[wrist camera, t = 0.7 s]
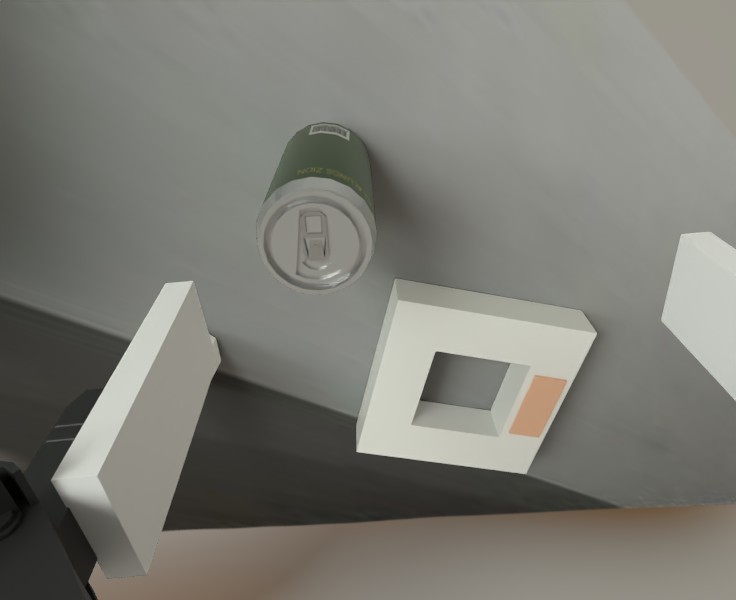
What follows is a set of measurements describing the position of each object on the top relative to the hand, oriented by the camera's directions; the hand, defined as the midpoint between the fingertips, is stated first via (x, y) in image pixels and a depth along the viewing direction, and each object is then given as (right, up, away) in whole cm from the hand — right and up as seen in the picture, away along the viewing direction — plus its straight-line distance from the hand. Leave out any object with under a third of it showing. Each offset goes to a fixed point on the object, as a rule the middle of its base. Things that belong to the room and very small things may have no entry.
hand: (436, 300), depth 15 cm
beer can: (-4, +9, +19) cm, 21 cm away
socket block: (+5, -5, +27) cm, 28 cm away
